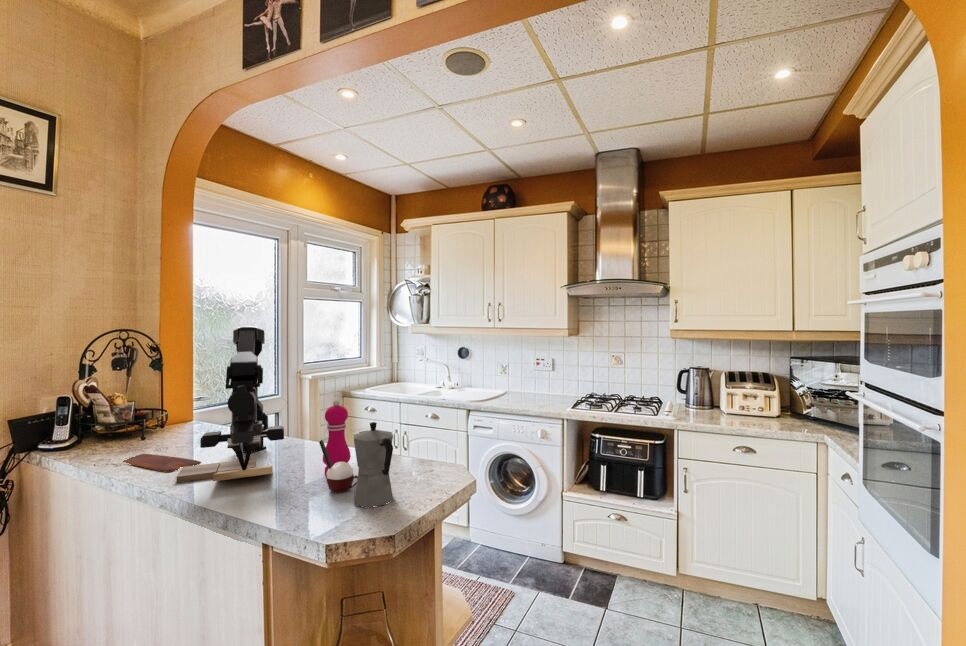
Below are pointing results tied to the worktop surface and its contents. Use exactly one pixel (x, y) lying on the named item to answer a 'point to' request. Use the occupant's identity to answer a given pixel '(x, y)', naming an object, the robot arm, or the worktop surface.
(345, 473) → the cocoa
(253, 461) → the weathered wooden board
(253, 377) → the robot arm
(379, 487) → the coffeepot
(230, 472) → the oak plank
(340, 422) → the pepper mill
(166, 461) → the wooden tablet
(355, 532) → the worktop surface
